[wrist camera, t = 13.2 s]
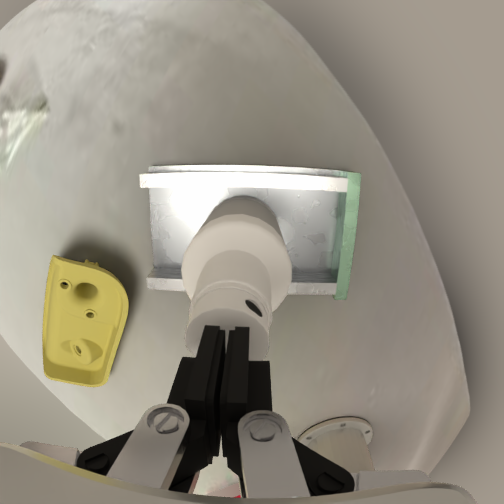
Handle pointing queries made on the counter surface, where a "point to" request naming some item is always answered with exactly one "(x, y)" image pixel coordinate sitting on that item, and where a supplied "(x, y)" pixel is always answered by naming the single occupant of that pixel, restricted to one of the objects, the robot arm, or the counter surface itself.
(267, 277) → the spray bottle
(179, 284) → the rail cradle
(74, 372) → the plastic component
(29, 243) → the counter surface
